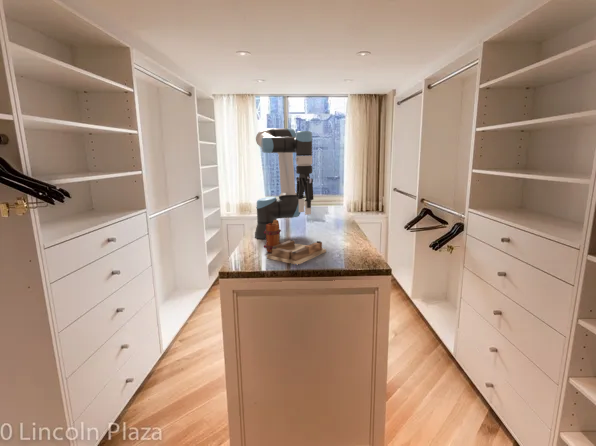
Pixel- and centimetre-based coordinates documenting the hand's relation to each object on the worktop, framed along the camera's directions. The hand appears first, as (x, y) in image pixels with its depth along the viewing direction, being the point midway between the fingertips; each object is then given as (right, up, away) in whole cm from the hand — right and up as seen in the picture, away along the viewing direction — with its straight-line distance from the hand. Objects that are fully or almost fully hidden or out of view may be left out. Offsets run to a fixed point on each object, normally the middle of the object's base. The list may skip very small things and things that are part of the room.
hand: (304, 213), depth 157 cm
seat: (-4, -20, +1) cm, 21 cm away
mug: (-15, -19, +9) cm, 26 cm away
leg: (+5, -19, +1) cm, 19 cm away
